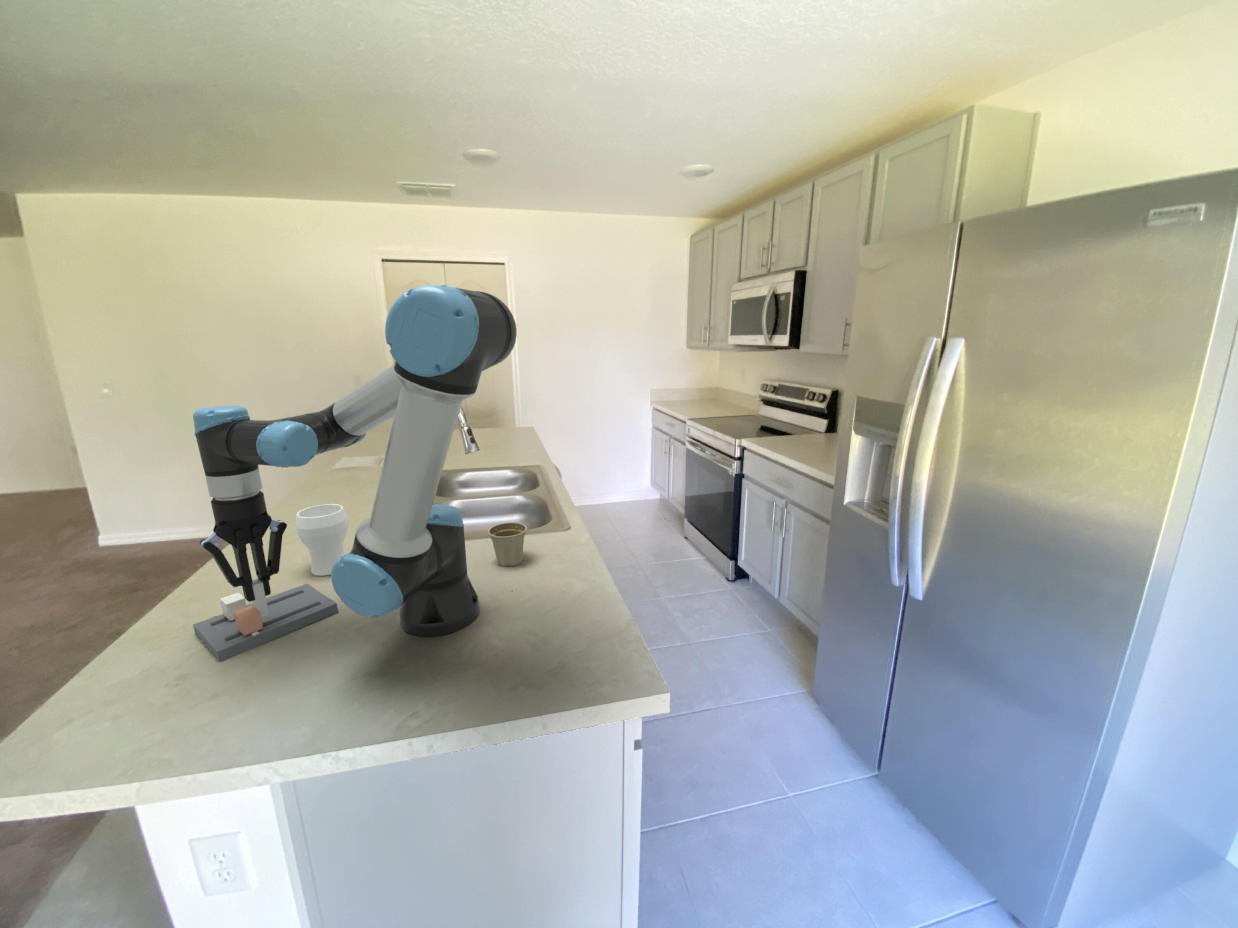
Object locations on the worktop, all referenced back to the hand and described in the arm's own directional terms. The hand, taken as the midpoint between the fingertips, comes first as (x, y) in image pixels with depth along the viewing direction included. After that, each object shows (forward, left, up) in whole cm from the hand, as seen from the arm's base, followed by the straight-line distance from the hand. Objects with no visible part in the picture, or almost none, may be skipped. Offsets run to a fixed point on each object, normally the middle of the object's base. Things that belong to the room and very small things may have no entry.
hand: (261, 612), depth 94 cm
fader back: (+8, +2, -2) cm, 8 cm away
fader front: (0, +2, -2) cm, 3 cm away
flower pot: (-13, -49, -5) cm, 51 cm away
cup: (+19, -20, -5) cm, 28 cm away
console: (+4, -2, -5) cm, 6 cm away
